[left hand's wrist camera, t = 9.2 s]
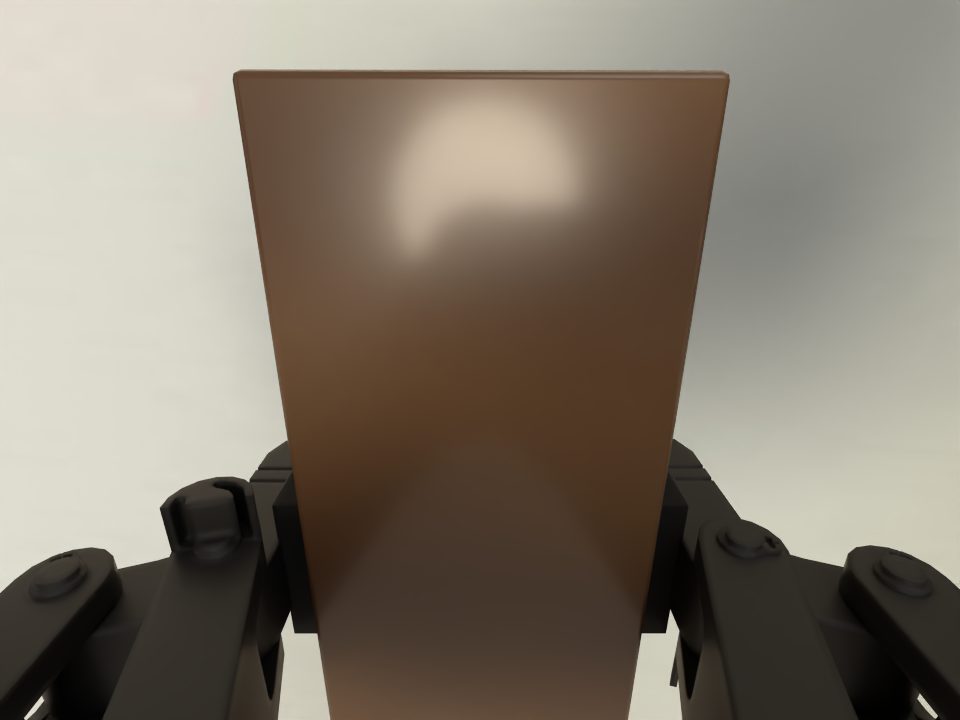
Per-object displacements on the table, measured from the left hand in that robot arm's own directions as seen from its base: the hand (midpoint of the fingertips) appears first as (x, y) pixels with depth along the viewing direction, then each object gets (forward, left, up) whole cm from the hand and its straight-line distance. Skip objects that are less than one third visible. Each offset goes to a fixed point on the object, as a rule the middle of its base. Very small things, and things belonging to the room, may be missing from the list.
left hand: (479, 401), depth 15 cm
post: (+16, +27, -1) cm, 32 cm away
